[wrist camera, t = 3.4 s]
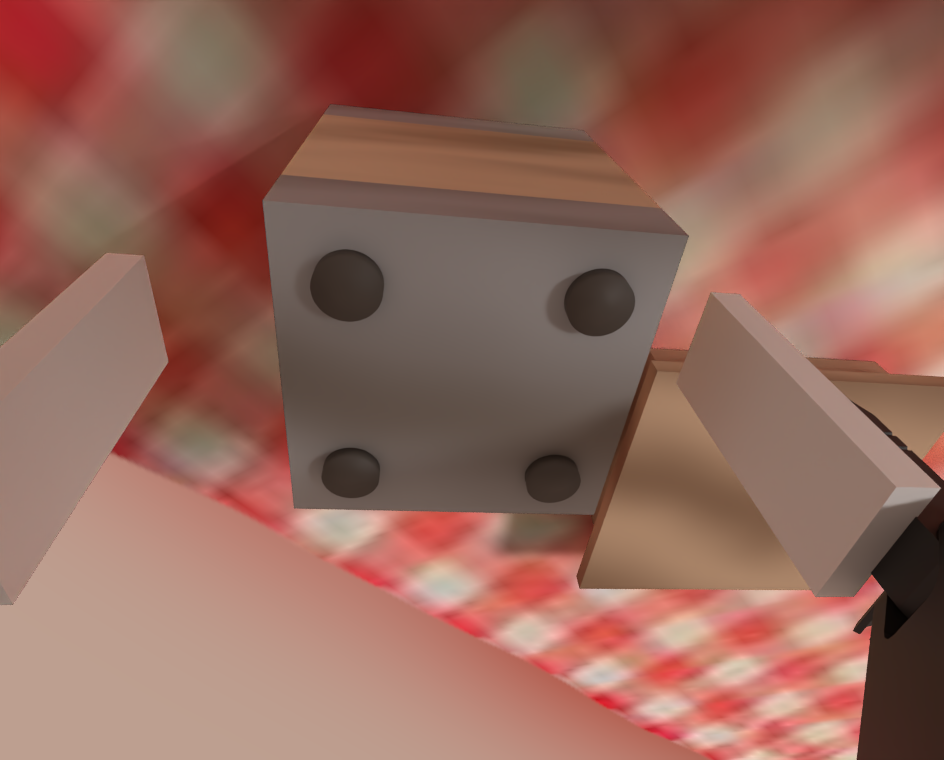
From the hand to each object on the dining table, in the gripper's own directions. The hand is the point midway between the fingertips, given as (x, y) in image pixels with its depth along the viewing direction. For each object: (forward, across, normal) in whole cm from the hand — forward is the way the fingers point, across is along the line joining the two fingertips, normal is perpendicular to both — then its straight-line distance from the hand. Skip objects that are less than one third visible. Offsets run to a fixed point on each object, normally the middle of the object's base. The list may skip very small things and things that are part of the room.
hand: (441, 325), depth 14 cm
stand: (+5, +12, -8) cm, 15 cm away
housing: (+5, 0, 0) cm, 5 cm away
